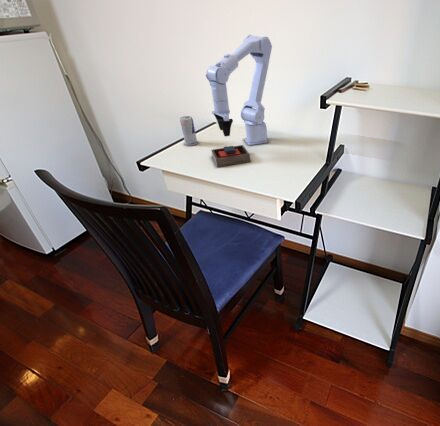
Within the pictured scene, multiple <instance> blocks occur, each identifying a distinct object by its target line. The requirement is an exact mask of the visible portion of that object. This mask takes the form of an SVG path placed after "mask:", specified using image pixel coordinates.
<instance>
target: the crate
mask: <svg viewBox="0 0 440 426" xmlns="http://www.w3.org/2000/svg"><path fill="white" fill-rule="evenodd" d="M233 146H234V148H235V149H238V151H239V152H240V153H241V155H236V156H229V157H223V158H220V157H219V153H218V152H219V151H224V147H220V148H213V149H211V156H212V159H213V161H214V163H215V166H216V167H217V168H221V167H227V166H233V165H234V166H235V165H239V164H245V163H246V164H247V163H250V162H251V157H250V153H249V151H248V149H246V147H245V145H243V144H241V145H233Z"/></svg>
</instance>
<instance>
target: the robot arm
mask: <svg viewBox="0 0 440 426" xmlns="http://www.w3.org/2000/svg"><path fill="white" fill-rule="evenodd" d="M272 49H273V45H272V42H271V40H270V38H269V37H268V36H259V35H252V34H248V35H247V36H246V37H245V38H243V41H242V43H241V44H240V45H238V47H237V48H236V49H235V50H234V52H233V53H225V54H223V57H222V58H221V59H220V60H219V61H217V62H216V63H215V64H214V65H210V66H209V67H208V68H207V70H206V74H205V77H206V80H207V81H208V83H209V86H210V89H211V95H212V102H213V108H214V110H212V111H211V114H212V115H213V116H214V117H215V119H216V121H217V125H218V128H219V130H220V131H222V133H223V136H224V137H230V136H231V129H232V125H233V123H234V122H233V121H234V120H233V118H230V113H231V109H230V106H229V97H228V87H227V83H228V81H229V78H230V75H231V74H232V73H234V71H236V70H237V68H239V62H240V61H242V60H243V59H244V58H246V57H247V56H248V55H250V57H252V59H253V60H254V61H255V67H254V72H253V77H252V81H251V85H250V92H249V96H248V99H247V100H246V101H244V102H243V107H242V108H241V110H240V119H242V120H243V123H244V125H245V126H244V127H245V138H244V141H245V142H246V144H247V145H248V146H252V145H253V146H254V145H260V144H266V143H269V141H268V129H267V128H268V127H267V123H266V122H265V110H266V109H265V106H264V105H263V103H262V100H263V94H264V89H265V85H266V80H267V76H268V70H269V65H270V59H271V54H272Z"/></svg>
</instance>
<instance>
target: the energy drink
mask: <svg viewBox="0 0 440 426" xmlns="http://www.w3.org/2000/svg"><path fill="white" fill-rule="evenodd" d="M179 122H180V127H181V131H182V136H183V140H184V144H185V146H188V147H189V146H190V147H191V146H195V145H197V144H198V139H197V134H196V128H195V123H194V119H193V117H192V116H191V115H185V116H181V117H180V119H179Z"/></svg>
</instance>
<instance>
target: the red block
mask: <svg viewBox="0 0 440 426" xmlns="http://www.w3.org/2000/svg"><path fill="white" fill-rule="evenodd" d="M234 146H235V145H229V146H223V148H224V151H219V152H218V153H219V157H220V158H223V157H229V156H236V155H241V153H240V152H239V151H238V149H235V148H234Z"/></svg>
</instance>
